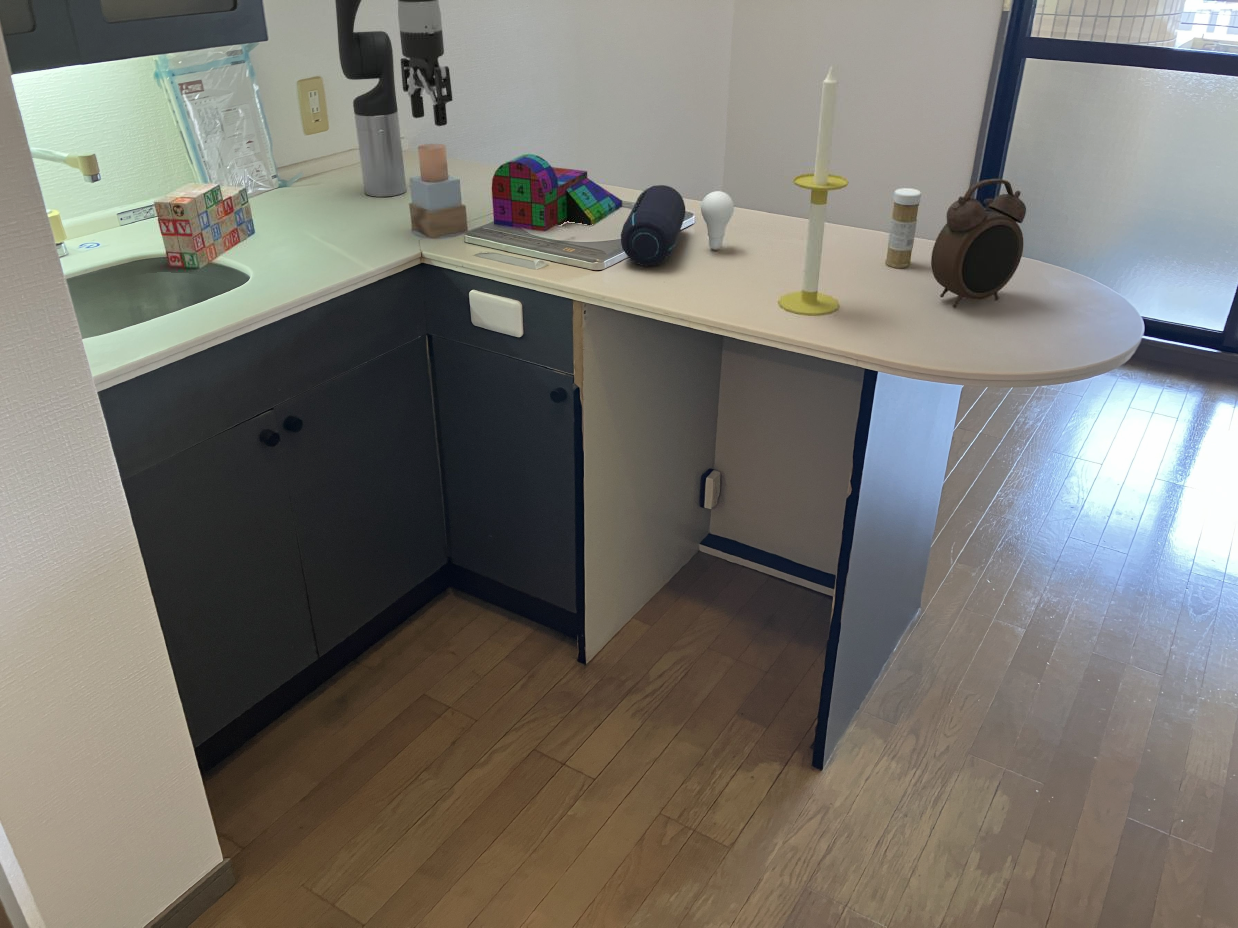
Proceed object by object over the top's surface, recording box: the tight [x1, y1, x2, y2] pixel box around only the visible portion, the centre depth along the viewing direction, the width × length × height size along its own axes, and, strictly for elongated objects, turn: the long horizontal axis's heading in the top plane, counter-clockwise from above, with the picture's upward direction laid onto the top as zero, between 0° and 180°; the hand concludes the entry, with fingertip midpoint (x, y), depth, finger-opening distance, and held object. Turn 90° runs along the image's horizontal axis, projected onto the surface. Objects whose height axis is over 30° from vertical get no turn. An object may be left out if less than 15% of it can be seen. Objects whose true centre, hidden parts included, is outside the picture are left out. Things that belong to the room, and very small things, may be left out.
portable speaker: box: [620, 184, 687, 267], centre depth 189 cm, size 25×10×10 cm, turn 171°
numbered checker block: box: [491, 153, 623, 232], centre depth 206 cm, size 25×17×14 cm
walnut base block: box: [408, 202, 469, 238], centre depth 197 cm, size 8×8×5 cm
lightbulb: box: [700, 190, 735, 251], centre depth 188 cm, size 6×6×11 cm
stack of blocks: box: [153, 182, 256, 269], centre depth 189 cm, size 21×6×12 cm, turn 170°
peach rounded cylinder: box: [417, 143, 449, 182], centre depth 192 cm, size 5×5×6 cm
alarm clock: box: [930, 178, 1027, 309], centre depth 162 cm, size 15×7×20 cm, turn 114°
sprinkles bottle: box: [885, 187, 922, 269], centre depth 180 cm, size 5×5×13 cm
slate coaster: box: [411, 226, 469, 240], centre depth 199 cm, size 11×11×1 cm
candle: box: [777, 65, 849, 316], centre depth 157 cm, size 10×10×38 cm
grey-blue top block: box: [409, 174, 463, 212], centre depth 195 cm, size 7×7×5 cm
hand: (429, 121), depth 188 cm, fingers open, 8 cm apart
